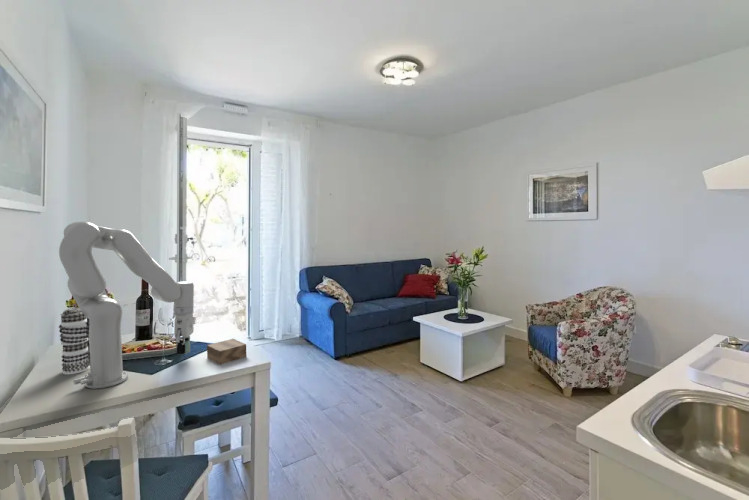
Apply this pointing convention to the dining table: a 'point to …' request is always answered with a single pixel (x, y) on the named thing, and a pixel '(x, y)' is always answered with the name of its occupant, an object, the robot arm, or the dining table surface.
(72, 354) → the black white patterned vase
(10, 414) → the dining table surface
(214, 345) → the walnut block
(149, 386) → the dining table surface
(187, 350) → the green rounded block
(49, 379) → the dining table surface
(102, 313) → the robot arm
